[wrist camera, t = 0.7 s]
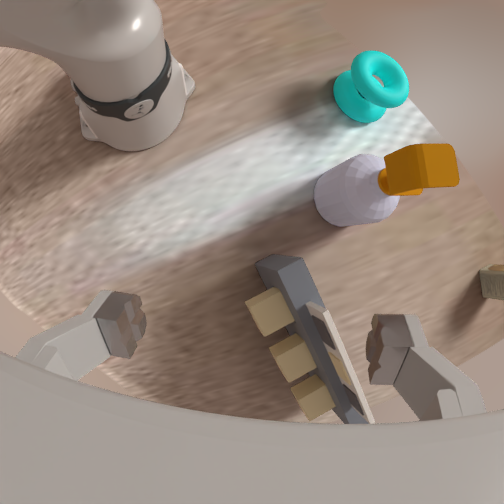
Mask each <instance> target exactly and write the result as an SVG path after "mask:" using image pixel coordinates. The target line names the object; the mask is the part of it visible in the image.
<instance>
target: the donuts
mask: <svg viewBox="0 0 504 504" xmlns="http://www.w3.org/2000/svg"><path fill="white" fill-rule="evenodd" d="M372 75H376V76H378V77H379V78H380V79H381V80H382V81H383V83H384V87H382V86H381V84H380V83H379V82H378V81H377V80H376V79H375V78H374V77H373V76H372ZM357 90H358V91H359V92H360V94H361V95H362V96H363V97H364V98H365V99H364V98H362V97H361V96H360V95H359V93H358V91H357ZM333 92H334V97H335V100H336V102H337V104H338V106H339V107H340V109H341V110H342V111H343V112H344V113H345V114H346V115H347V116H349V117H350V118H352V119H354V120H356V121H359V122H363V123H370V122H374V121H377V120H378V119H380V118H381V117H382V116H383V115H384V113H385V111H386V108H394V107H398V106H400V105H401V104H403V103H404V102H405V100H406V99H407V97H408V92H409V83H408V79H407V76H406V74H405V72H404V70H403V69H402V67H401V66H400V65H399V64H398V63H397V62H396V61H395V60H394V59H393V58H391V57H390V56H388V55H386V54H384V53H381V52H379V51H365V52H362V53H360V54H358V55H357V56H356V57H355V58H354V60H353V62H352V65H351V70H349V71H345V72H343V73H342V74H340V75H339V76H338V77H337V79H336V80H335V83H334V88H333ZM366 99H367V100H366Z"/></svg>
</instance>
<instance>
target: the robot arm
mask: <svg viewBox="0 0 504 504" xmlns="http://www.w3.org/2000/svg"><path fill="white" fill-rule="evenodd" d="M0 47H9V48H15V49H20V50H24V51H28V52H32V53H35V54H38V55H41V56H43V57H46V58H48V59H50V60H52V61H54V62H55V63H57V64H58V65H59V66H60V67H61V68H62V69H63V70H64V71H65V72H66V74H67V75H68V76H69V77H70V78H71V86H72V89H73V91H74V92H77V94H78V96H77V97H75V103H76V105H77V106H78V105H79V114H80V123H81V131H82V135H83V137H84V138H85V139H86V140H90V141H101V142H104V143H106V144H108V145H110V146H111V147H113V148H116V149H119V150H123V151H139V150H144V149H148V148H150V147H153V146H155V145H157V144H159V143H160V142H162V141H163V140H165V139H166V138H167V137H168V136H169V135H170V134H171V133H172V132H173V131H174V130H175V129H176V127H177V126H178V124H179V122H180V120H181V118H182V115H183V112H184V107H185V103H186V100H187V99H188V97H189V96H190V95H191V94H192V92H193V90H194V88H195V82H194V80H193V79H192V78H191V76H190V75H189V74H188V73H187V72H186V71H185V69H184V68H183V67H182V65H181V64H180V63H178V61H177V60H176V59H175V58H174V57H173V56H172V55H171V52H170V49H169V47H168V44H167V42H166V40H165V39H164V32H163V24H162V15H161V11H160V9H159V7H158V5H157V4H156V3H155V1H154V0H0ZM87 126H88V127H87ZM141 305H142V302H141V299H140V296H138V295H136V294H129V293H123V292H117V291H109V290H102V291H100V292H99V294H98V295H97V296H96V297H95V299H94V300H93V301H92V302H91V303H90V305H89V306H88V307H87V308H86V310H85V311H84V312H83V313H82V315H76V316H74V317H72V318H70V319H68V320H66V321H64V322H62V323H60V324H58V325H56V326H54V327H52V328H50V329H48V330H46V331H44V332H42V333H40V334H38V335H36V336H34V337H32V338H30V339H29V341H28V342H27V343H26V344H25V346H24V347H23V348H22V349H21V351H20V352H19V353H18V355H17V356H16V357H13V356H10V355H8V354H6V353H3V352H1V351H0V504H504V409H502V410H497V411H492V412H486V408H485V405H484V402H483V399H482V396H481V393H480V390H479V387H478V385H477V384H476V383H475V382H473V381H472V380H471V379H470V378H469V377H468V376H466V375H465V374H464V373H463V372H462V371H460V370H459V369H458V368H457V367H456V366H455V365H454V364H452V363H451V362H450V361H449V360H448V359H446V358H445V357H444V356H443V355H442V354H441V353H439V352H438V351H437V350H436V349H435V348H433V347H429V346H428V343H427V340H426V337H425V334H424V331H423V329H422V326H421V323H420V320H419V318H418V315H416V314H374V316H373V318H372V322H371V324H372V330H371V331H370V332H369V333H368V337H367V341H366V359H367V360H368V361H369V362H370V365H369V368H368V374H369V381H370V384H376V385H393V386H394V387H395V389H396V390H397V391H398V392H399V394H400V395H401V396H402V397H403V399H404V400H405V401H406V403H407V404H408V405H409V406H410V407H411V409H412V410H413V411H414V413H415V414H416V415H417V416H418V418H419V419H420V420H419V421H415V422H403V423H402V422H401V423H381V424H321V423H300V422H285V421H273V420H262V419H253V418H244V417H236V416H229V415H222V414H215V413H209V412H203V411H197V410H191V409H186V408H181V407H176V406H171V405H166V404H161V403H157V402H152V401H148V400H144V399H140V398H136V397H132V396H128V395H124V394H120V393H116V392H112V391H109V390H105V389H102V388H99V387H96V386H92V385H89V384H86V383H83V382H79V381H78V380H79V379H80V378H82V377H83V376H84V375H86V374H87V373H88V372H90V371H91V370H93V369H94V368H95V367H97V366H98V365H99V364H101V363H102V362H103V361H105V360H106V359H108V358H109V357H110V355H112V356H117V357H122V358H128V359H130V358H131V356H132V355H133V353H134V351H135V349H136V348H137V344H136V341H137V340H139V339H141V338H142V337H143V335H144V333H145V329H146V317H145V313H144V312H143V311H142V310H141V309H140V307H141Z"/></svg>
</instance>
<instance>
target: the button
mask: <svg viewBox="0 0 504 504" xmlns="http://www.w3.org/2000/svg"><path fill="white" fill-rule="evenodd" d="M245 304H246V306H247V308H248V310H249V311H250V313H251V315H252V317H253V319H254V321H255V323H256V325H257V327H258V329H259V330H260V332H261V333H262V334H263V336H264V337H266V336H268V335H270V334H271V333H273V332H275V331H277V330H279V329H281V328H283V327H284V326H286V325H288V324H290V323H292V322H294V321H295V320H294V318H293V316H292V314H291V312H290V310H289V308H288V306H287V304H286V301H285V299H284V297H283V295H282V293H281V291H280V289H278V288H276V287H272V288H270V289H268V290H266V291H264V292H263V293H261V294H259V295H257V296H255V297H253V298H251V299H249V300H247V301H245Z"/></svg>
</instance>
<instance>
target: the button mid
mask: <svg viewBox="0 0 504 504" xmlns="http://www.w3.org/2000/svg"><path fill="white" fill-rule="evenodd" d="M269 350H270V352H271V354H272V356H273V358H274V359H275V361H276V363H277V365H278V367H279V369H280V371H281V372H282V374H283V375H284V377H285V378H286V380H287V381H288V383H290V382H292V381H294V380H295V379H297V378H299V377H301V376H303V375H304V374H306V373H308V372H310V371H311V370H313V369H315V368H317V366H316V364H315V362H314V360H313V358H312V355H311V353H310V351H309V349H308V347H307V345H306V343H305V341H304V340H303V339H302V338H301V337H300V336H299V335H298V334H296V333H295V334H293V335H291V336H290V337H288V338H286V339H284V340H282V341H280V342H278V343H277V344H275V345H273V346H271V347H269Z"/></svg>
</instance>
